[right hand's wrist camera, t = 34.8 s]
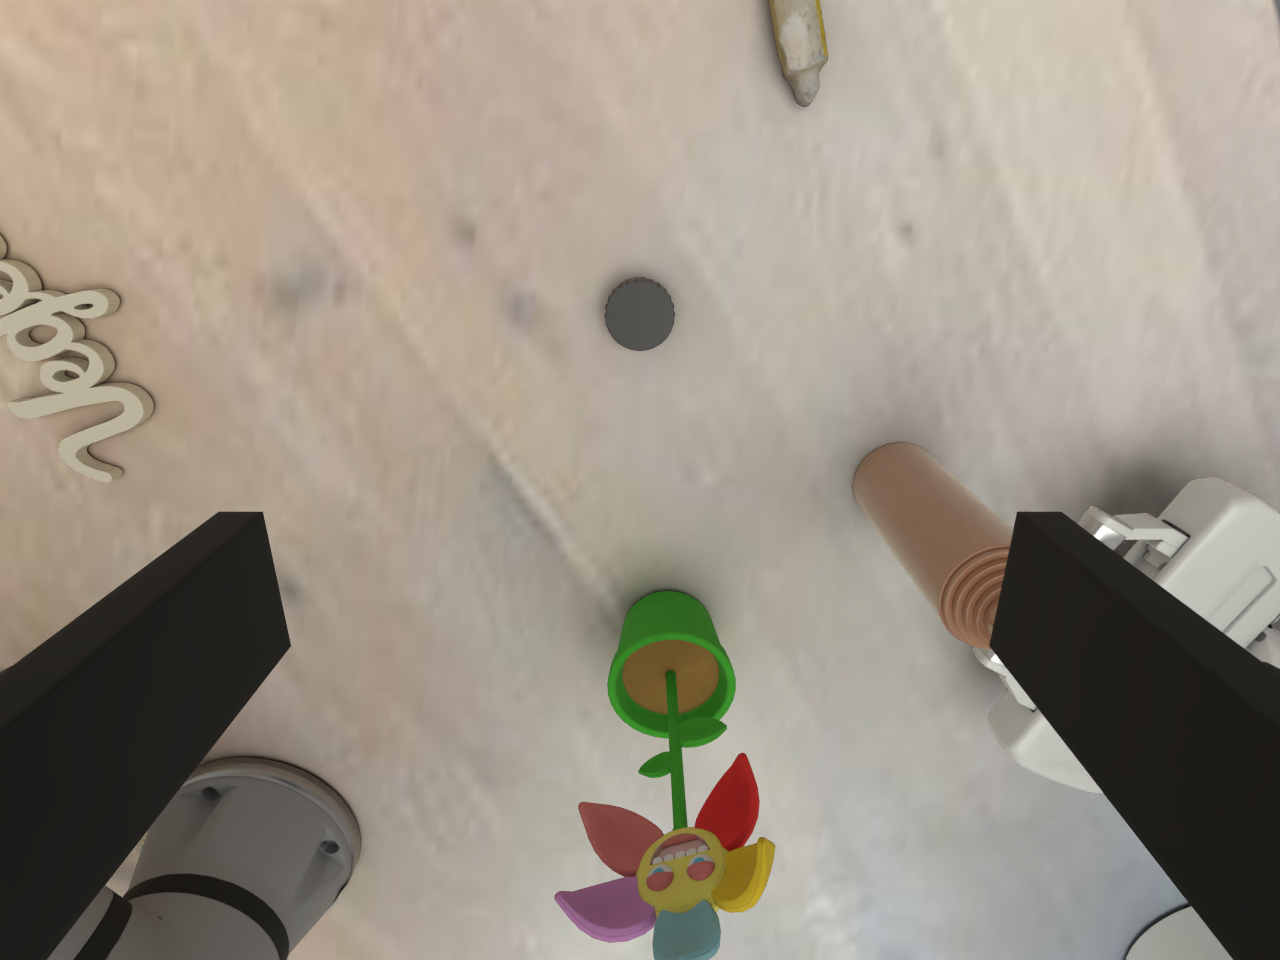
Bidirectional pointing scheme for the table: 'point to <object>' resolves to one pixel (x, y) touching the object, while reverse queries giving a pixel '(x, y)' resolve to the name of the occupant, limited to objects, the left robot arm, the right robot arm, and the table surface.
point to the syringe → (800, 45)
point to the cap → (639, 314)
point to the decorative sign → (67, 361)
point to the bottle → (937, 536)
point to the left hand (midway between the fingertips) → (1033, 585)
